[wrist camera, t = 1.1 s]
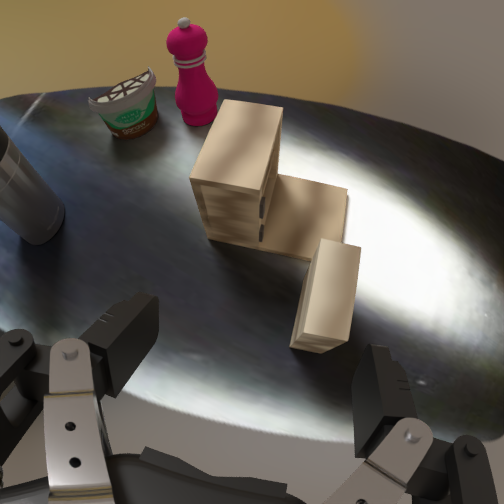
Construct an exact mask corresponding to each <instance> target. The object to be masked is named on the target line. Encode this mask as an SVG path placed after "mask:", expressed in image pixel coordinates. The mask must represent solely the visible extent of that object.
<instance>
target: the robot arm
mask: <svg viewBox="0 0 504 504" xmlns="http://www.w3.org/2000/svg"><path fill="white" fill-rule="evenodd" d="M64 211H65V209H64V204H63V202H62V201H61V200H60V198H59V197H58V196H57V195H56V194H55V193H54V192H53V190H52V189H51V188H50V187H49V186H48V184H47V183H46V182H45V181H44V180H43V179H42V177H41V176H40V175H39V174H38V173H37V171H36V170H35V169H34V168H33V167H32V165H31V164H30V163H29V162H28V160H27V159H26V158H25V157H24V156H23V154H22V153H21V152H20V151H19V149H18V148H17V147H16V146H15V144H14V143H13V142H12V140H11V139H10V138H9V137H8V135H7V134H6V133H5V131H4V130H3V129H2V127H1V126H0V220H1V221H2V222H4V223H5V224H6V225H7V226H8V227H10V228H11V229H12V230H13V231H15V232H16V233H17V234H18V235H20V236H21V237H22V238H23V239H25V240H26V241H27V242H29V243H30V244H32V245H40V244H43V243H45V242H47V241H48V240H50V239H51V238H52V237H53V236H54V235H55V234H56V232H57V231H58V230H59V228H60V226H61V224H62V221H63V218H64ZM158 332H159V300H158V297H157V296H154V295H150V294H147V293H143V292H137V293H136V294H135V295H134V296H133V297H132V298H131V299H130V300H129V301H126V300H123V301H121V302H119V303H117V304H114V305H113V306H112V307H111V308H110V309H108V310H107V311H106V313H105V314H103V315H102V316H101V317H100V319H98V320H97V321H96V322H95V323H94V324H93V325H92V326H91V327H90V328H89V329H88V330H87V331H85V332H84V333H83V334H82V335H81V336H80V337H79V338H78V339H76V338H67V339H63V340H60V341H58V342H57V343H55V344H54V345H53V347H51V346H45V345H39V344H35V343H34V339H33V336H32V334H31V333H30V332H29V331H27V330H24V329H14V330H11V331H8V332H6V333H5V334H4V335H3V336H1V337H0V396H1V394H2V393H3V391H4V390H5V389H6V388H7V387H8V386H9V385H10V383H11V382H12V381H14V383H15V386H14V387H13V388H12V389H11V390H10V392H9V393H8V394H7V395H6V396H5V397H4V398H3V400H2V401H1V402H0V504H306V503H305V502H303V501H302V500H300V499H298V498H297V497H295V496H293V495H290V494H288V493H286V489H287V484H285V483H279V482H273V481H268V480H262V479H257V478H252V477H216V476H211V475H208V474H206V473H204V472H203V471H201V470H199V469H197V468H195V467H193V466H192V465H190V464H188V463H186V462H184V461H183V460H181V459H179V458H177V457H174V456H171V455H168V454H165V453H162V452H159V451H157V450H154V449H151V448H149V447H145V448H144V450H143V452H142V454H130V453H129V454H128V453H127V454H116V455H113V453H112V450H111V446H110V442H109V438H108V433H107V429H106V424H105V419H104V413H103V408H102V403H101V399H102V398H103V396H104V395H105V394H106V395H108V396H111V397H113V398H116V397H117V395H118V394H119V393H120V391H121V390H122V389H123V387H124V386H125V384H126V383H127V381H128V380H129V379H130V377H131V376H132V374H133V373H134V372H135V370H136V369H137V367H138V366H139V365H140V363H141V362H142V360H143V359H144V358H145V356H146V355H147V354H148V352H149V351H150V349H151V348H152V347H153V345H154V344H155V342H156V340H157V337H158ZM351 393H352V407H353V423H354V444H355V458H366V460H365V461H364V462H363V463H362V464H361V465H360V466H359V467H358V469H357V470H356V471H355V472H354V473H353V474H352V475H351V476H350V477H349V478H348V479H347V480H346V481H345V482H344V483H343V484H342V485H341V486H340V487H339V488H338V489H337V490H336V491H335V492H334V493H333V494H332V495H331V496H330V497H329V498H328V499H327V500H326V501H325V502H324V503H323V504H397V502H398V501H399V499H400V498H401V496H402V495H403V494H404V493H408V494H411V495H412V504H498V500H497V495H496V490H495V485H494V481H493V477H492V472H491V469H490V465H489V460H488V457H487V453H486V449H485V447H484V445H483V444H482V442H481V441H480V440H478V439H477V438H475V437H473V436H470V435H462V436H460V437H458V438H457V439H456V440H455V442H454V443H449V442H446V441H442V440H439V439H436V438H434V437H433V434H432V431H431V429H430V428H429V427H428V425H426V424H425V423H424V422H423V421H421V420H419V419H418V418H417V413H416V409H415V406H414V402H413V398H412V394H411V391H410V387H409V383H408V380H407V376H406V373H405V370H404V369H403V368H402V366H401V365H400V364H399V363H398V361H392V359H391V355H390V351H389V348H388V347H386V346H380V345H374V344H368V345H367V347H366V349H365V351H364V353H363V355H362V358H361V360H360V362H359V365H358V367H357V369H356V371H355V373H354V376H353V380H352V385H351ZM43 409H44V432H45V449H46V461H47V470H48V476H47V477H43V478H40V479H36V480H33V481H29V482H25V483H22V484H18V485H14V486H10V487H6V488H3V481H2V479H3V468H2V465H3V464H4V463H5V461H6V460H7V458H8V457H9V455H10V454H11V452H12V451H13V450H14V448H15V447H16V445H17V444H18V443H19V441H20V440H21V438H22V437H23V436H24V434H25V433H26V431H27V430H28V429H29V427H30V426H31V425H32V423H33V422H34V420H35V419H36V418H37V416H38V415H39V414H40V413H41V411H42V410H43Z"/></svg>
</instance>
